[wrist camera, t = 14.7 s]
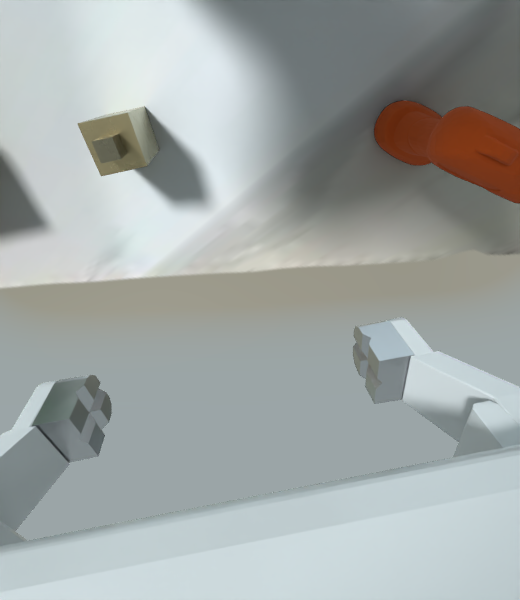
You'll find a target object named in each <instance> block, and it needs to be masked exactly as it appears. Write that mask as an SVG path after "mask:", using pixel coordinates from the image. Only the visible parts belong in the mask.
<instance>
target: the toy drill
mask: <svg viewBox="0 0 520 600" xmlns="http://www.w3.org/2000/svg"><path fill="white" fill-rule="evenodd" d="M374 136H375V139H376V141H377V143H378V144H379V146H380V147H381V148H382V149H383V150H384V151H386V152H387V153H388V154H390V155H392V156H393V157H395V158H397V159H399V160H401V161H403V162H405V163H408V164H411V165H426V164H429V163H431V162H432V163H433V164H434V165H436V166H437V167H439V168H440V169H442V170H444V171H446V172H448V173H450V174H452V175H454V176H456V177H458V178H461V179H463V180H466V181H468V182H471V183H473V184H476V185H478V186H481V187H483V188H485V189H486V190H488V191H490V192H492V193H494V194H496V195H498V196H500V197H503V198H505V199H507V200H509V201H512V202H514V203H520V129H519V128H517V127H515V126H513V125H511V124H509V123H507V122H505V121H503V120H501V119H498V118H496V117H494V116H492V115H490V114H487V113H485V112H482V111H480V110H477V109H475V108H472V107H469V106H464V107H458V108H455V109H453V110H451V111H449V112H448V113H447V114H445V115H444V116H443V117H441V116H440V115H439V114H437V113H436V112H434V111H433V110H431V109H429V108H427V107H425V106H423V105H421V104H418V103H416V102H412V101H398V102H394V103H392V104H390V105H388V106H387V107H386V108H385V109H384V110H383V111H382V112H381V114H380V115H379V117H378V119H377V122H376V124H375V129H374Z"/></svg>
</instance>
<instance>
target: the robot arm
mask: <svg viewBox="0 0 520 600" xmlns="http://www.w3.org/2000/svg"><path fill="white" fill-rule="evenodd" d="M354 338H355V340H356V341H357V343H356V344H355V345H354V346H353V357H354V363H355V365H356V368H357V371H358V373H359V375H360V376H362V377H363V378H365V379H366V386H365V387H366V388H367V391H368V392H369V394H370V396H371V398H372V400H373V402H374V404H376V403H383V402H389V401H395V400H401V399H402V401H403V402H405V403H406V404H407V405H409V406H410V407H411V408H413V409H414V410H416V411H417V412H418V413H420V414H421V415H422V416H424V417H425V418H426V419H428V420H429V421H431V422H432V423H433V424H435V425H436V426H438V427H439V428H440V429H441V430H443V431H444V432H446V433H447V434H448V435H450V436H451V437H453V438H454V439H455V440H456V441H458V442H459V443H458V446H457V448H456V451H455V453H454V456H453V457H452V458H447V459H442V460H437V461H432V462H427V463H422V464H417V465H412V466H407V467H401V468H397V469H391V470H386V471H382V472H376V473H371V474H366V475H361V476H355V477H350V478H345V479H340V480H335V481H330V482H325V483H319V484H315V485H310V486H304V487H299V488H294V489H289V490H284V491H279V492H273V493H269V494H263V495H259V496H253V497H248V498H243V499H238V500H233V501H227V502H222V503H218V504H212V505H207V506H202V507H197V508H192V509H188V510H182V511H177V512H172V513H167V514H161V515H156V516H151V517H146V518H141V519H136V520H131V521H126V522H121V523H115V524H110V525H105V526H100V527H96V528H90V529H85V530H80V531H75V532H69V533H64V534H60V535H54V536H50V537H44V538H39V539H34V540H29V541H27V540H26V539H25V538H24V537H22V536H21V535H19V534H18V533H16V532H15V531H16V530H17V529H18V527H19V526H20V525H21V524H22V522H23V521H24V520H25V519H26V518H27V516H28V515H29V514H30V513H31V511H32V510H33V509H34V508H35V506H36V505H37V504H38V503H39V501H40V500H41V499H42V498H43V496H44V495H45V494H46V493H47V491H48V490H49V489H50V488H51V486H52V485H53V484H54V483H55V482H56V480H57V479H58V478H59V477H60V475H61V474H62V473H63V472H64V470H65V469H66V468H67V467H68V465H69V463H70V462H74V461H79V460H83V459H88V458H93V457H97V456H99V453H100V449H101V446H102V443H103V440H104V437H105V435H104V433H103V431H102V429H103V428H104V427H105V426H106V425H107V424H108V423H109V420H110V417H111V401H110V398H109V396H108V394H107V393H106V392H105V391H103V390H101V389H99V385H100V382H99V380H98V379H97V377H96V376H95V375H87V376H81V377H74V378H68V379H62V380H58V381H52V382H45V383H42V384H40V385H39V386H37V388H36V390H35V391H34V393H33V395H32V396H31V398H30V400H29V401H28V403H27V405H26V406H25V408H24V410H23V411H22V413H21V415H20V416H19V418H18V420H17V421H16V423H15V425H14V427H13V429H12V430H11V431H7V432H5V433H3V434H2V435H1V436H0V600H520V387H518V386H516V385H514V384H512V383H510V382H507V381H505V380H503V379H501V378H498V377H496V376H494V375H492V374H489V373H487V372H485V371H483V370H480V369H478V368H476V367H474V366H471V365H469V364H467V363H465V362H462V361H460V360H458V359H456V358H453V357H451V356H449V355H447V354H445V353H442V352H440V351H436V352H434V351H433V350H432V349H431V348H430V346H429V345H428V344H427V343H426V342H425V341H424V339H423V338H422V337H421V336H420V335H419V333H418V332H417V331H416V330H415V329H414V328H413V326H412V325H411V324H410V323H409V322H408V321H407V319H406V318H404V317H400V318H395V319H390V320H387V321H381V322H376V323H370V324H366V325H360V326H356V327H355V329H354Z"/></svg>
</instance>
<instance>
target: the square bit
mask: <svg viewBox="0 0 520 600" xmlns="http://www.w3.org/2000/svg"><path fill="white" fill-rule="evenodd" d="M78 126H79V128H80V131H81V133H82V135H83V137H84V139H85V142H86V144H87V146H88V148H89V150H90V153H91V155H92V157H93V159H94V162H95V164H96V166H97V168H98V170H99V173H100V175H101V176H105V175H109V174H114V173H118V172H123V171H127V170H132V169H136V168H141V167H145V166H148V164H149V163H150V162H151V160H152V159H153V158H154V157H155V155H156V154H157V153H158V151H159V148H158V145H157V142H156V139H155V136H154V133H153V130H152V127H151V124H150V121H149V118H148V115H147V112H146V109H145V106H144V107H140V108H135V109H131V110H126V111H122V112H117V113H113V114H108V115H104V116H101V117H97V118H94V119H91V120H88V121H84V122H81V123H78Z"/></svg>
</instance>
